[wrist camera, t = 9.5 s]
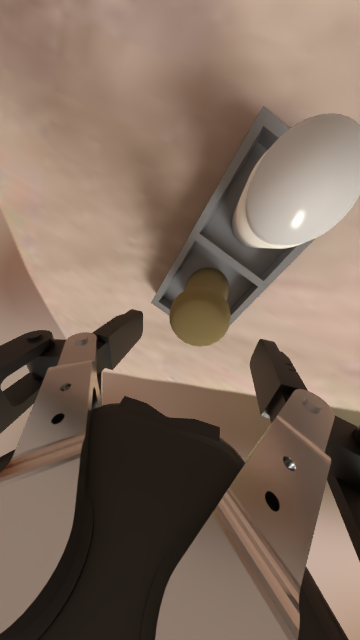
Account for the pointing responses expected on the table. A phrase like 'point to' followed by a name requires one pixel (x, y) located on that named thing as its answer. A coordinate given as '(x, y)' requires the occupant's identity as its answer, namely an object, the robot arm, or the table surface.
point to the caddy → (231, 232)
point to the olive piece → (202, 308)
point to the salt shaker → (301, 184)
